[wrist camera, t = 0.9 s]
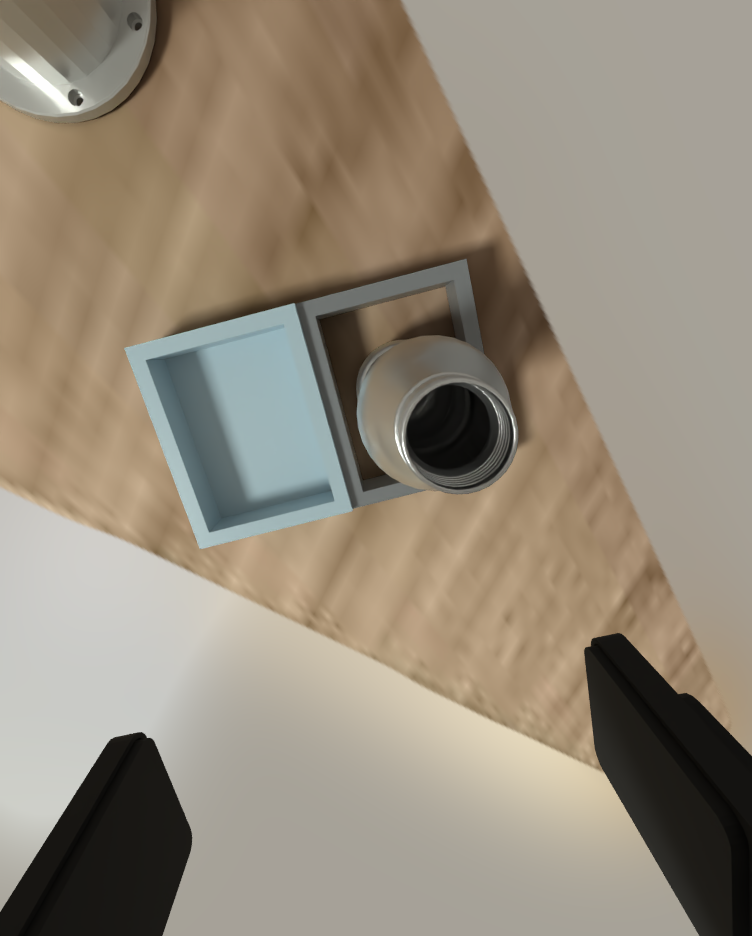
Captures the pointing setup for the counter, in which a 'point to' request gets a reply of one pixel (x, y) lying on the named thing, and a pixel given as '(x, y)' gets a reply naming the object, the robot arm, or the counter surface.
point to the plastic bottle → (436, 414)
